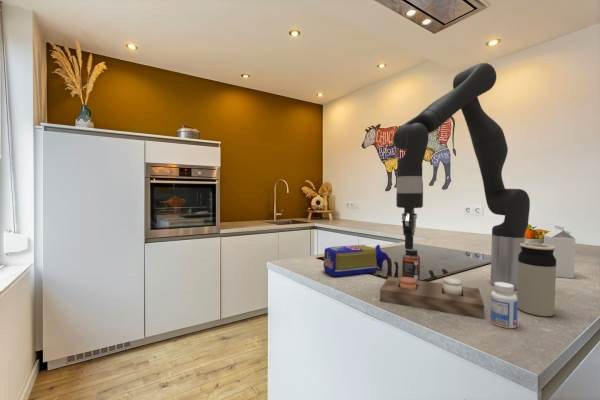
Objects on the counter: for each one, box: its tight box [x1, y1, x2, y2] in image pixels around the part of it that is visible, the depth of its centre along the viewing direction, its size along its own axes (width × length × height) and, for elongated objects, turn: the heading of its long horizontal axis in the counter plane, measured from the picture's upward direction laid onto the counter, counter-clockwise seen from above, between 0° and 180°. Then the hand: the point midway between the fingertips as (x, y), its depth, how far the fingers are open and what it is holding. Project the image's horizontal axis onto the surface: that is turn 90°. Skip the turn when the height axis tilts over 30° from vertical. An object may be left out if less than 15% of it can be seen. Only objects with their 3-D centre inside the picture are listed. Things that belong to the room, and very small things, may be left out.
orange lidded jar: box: [399, 276, 416, 290], centre depth 89 cm, size 5×5×5 cm
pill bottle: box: [490, 282, 518, 329], centre depth 71 cm, size 6×5×10 cm
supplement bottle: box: [401, 248, 421, 281], centre depth 105 cm, size 6×6×11 cm
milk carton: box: [543, 225, 576, 279], centre depth 112 cm, size 7×7×19 cm
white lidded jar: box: [443, 276, 463, 296], centre depth 84 cm, size 5×5×5 cm
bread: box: [323, 243, 389, 278], centre depth 116 cm, size 10×25×10 cm, turn 111°
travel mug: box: [516, 242, 557, 317], centre depth 79 cm, size 8×8×18 cm
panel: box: [379, 276, 485, 319], centre depth 86 cm, size 26×14×4 cm, turn 63°
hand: (409, 248), depth 89 cm, fingers closed
